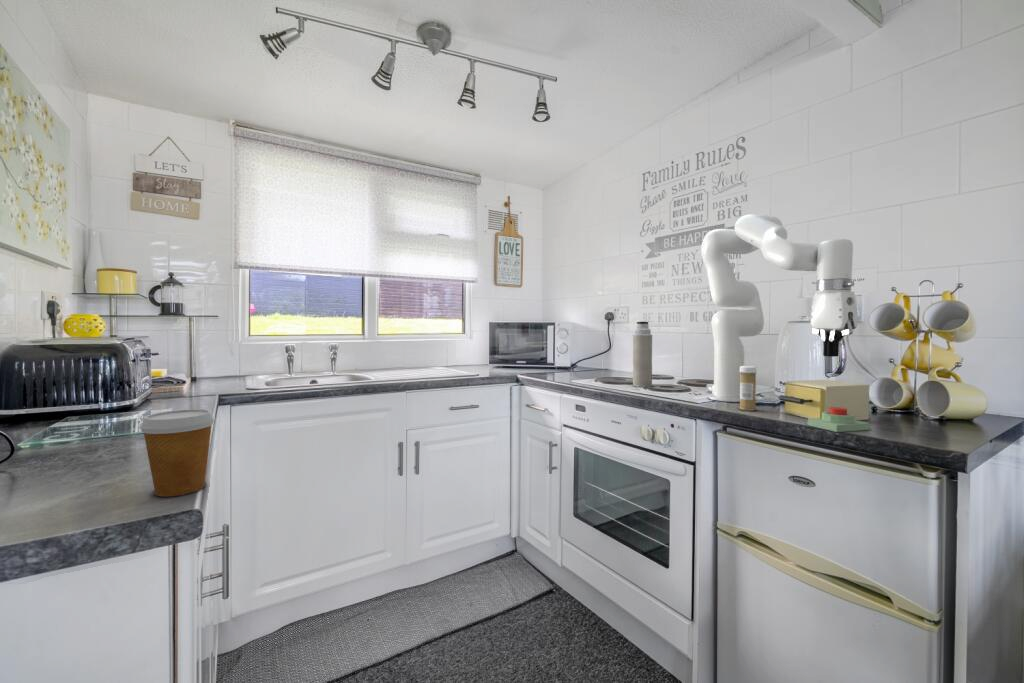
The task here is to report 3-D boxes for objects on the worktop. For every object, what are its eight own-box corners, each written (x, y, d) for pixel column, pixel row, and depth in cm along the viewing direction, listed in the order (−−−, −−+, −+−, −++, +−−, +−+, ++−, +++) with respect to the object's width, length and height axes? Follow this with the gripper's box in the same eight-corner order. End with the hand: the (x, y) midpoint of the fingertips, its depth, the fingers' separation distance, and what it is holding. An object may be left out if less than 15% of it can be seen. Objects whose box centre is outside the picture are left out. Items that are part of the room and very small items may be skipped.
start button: (825, 414, 114) (825, 407, 114) (836, 413, 114) (837, 406, 114) (839, 417, 110) (839, 409, 110) (850, 416, 111) (850, 409, 111)
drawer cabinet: (825, 422, 118) (826, 386, 118) (786, 413, 131) (786, 381, 130) (868, 419, 122) (869, 384, 122) (826, 411, 134) (826, 379, 134)
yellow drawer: (807, 419, 118) (807, 390, 118) (772, 411, 129) (772, 384, 129) (859, 416, 122) (860, 387, 122) (822, 408, 133) (822, 383, 133)
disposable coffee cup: (229, 478, 75) (227, 408, 75) (190, 500, 66) (188, 419, 65) (171, 479, 75) (169, 408, 74) (124, 501, 65) (121, 420, 65)
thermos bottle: (648, 384, 197) (649, 321, 197) (654, 387, 190) (654, 321, 189) (630, 384, 198) (631, 321, 197) (635, 387, 190) (635, 321, 189)
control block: (807, 425, 115) (807, 411, 115) (838, 423, 117) (838, 409, 117) (836, 432, 107) (837, 417, 107) (869, 429, 110) (869, 415, 109)
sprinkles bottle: (758, 410, 136) (759, 366, 136) (750, 411, 134) (751, 367, 133) (744, 407, 140) (744, 365, 139) (736, 409, 137) (736, 366, 137)
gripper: (873, 285, 111) (870, 358, 112) (819, 289, 126) (817, 353, 127) (849, 284, 109) (845, 359, 110) (797, 288, 124) (795, 354, 125)
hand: (830, 356), depth 119 cm, fingers closed
